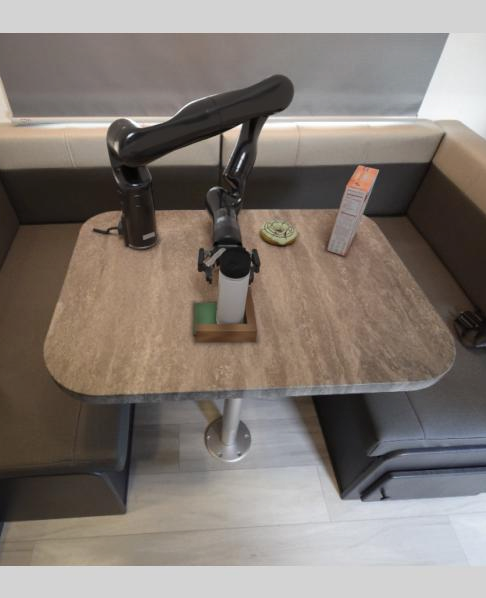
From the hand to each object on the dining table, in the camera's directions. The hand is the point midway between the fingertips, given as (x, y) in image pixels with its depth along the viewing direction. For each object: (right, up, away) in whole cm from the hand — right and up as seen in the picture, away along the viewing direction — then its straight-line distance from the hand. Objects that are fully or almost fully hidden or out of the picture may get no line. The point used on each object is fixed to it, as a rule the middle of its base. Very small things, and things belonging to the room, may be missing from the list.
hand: (230, 281), depth 76 cm
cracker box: (+36, +14, +31) cm, 49 cm away
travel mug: (0, -9, +7) cm, 11 cm away
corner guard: (-1, -8, +8) cm, 11 cm away
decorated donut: (+16, +15, +31) cm, 38 cm away
